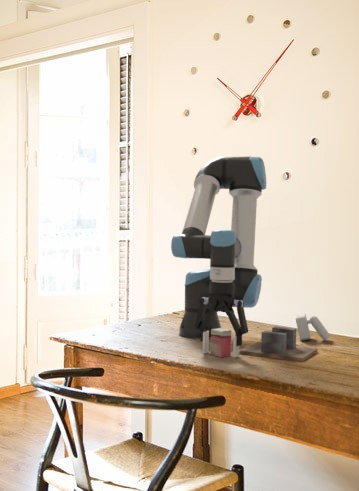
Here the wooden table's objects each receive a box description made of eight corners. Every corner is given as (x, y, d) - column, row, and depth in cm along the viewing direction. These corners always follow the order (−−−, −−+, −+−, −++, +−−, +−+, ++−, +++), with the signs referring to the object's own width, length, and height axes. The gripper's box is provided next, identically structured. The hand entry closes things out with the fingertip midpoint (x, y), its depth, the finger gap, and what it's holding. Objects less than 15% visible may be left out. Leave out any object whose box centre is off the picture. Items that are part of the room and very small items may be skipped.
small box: (209, 354, 194) (210, 328, 194) (220, 352, 197) (220, 327, 197) (220, 357, 190) (221, 331, 190) (231, 355, 193) (232, 330, 193)
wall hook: (331, 341, 216) (325, 312, 216) (301, 346, 218) (295, 318, 218) (331, 337, 224) (325, 309, 224) (301, 342, 226) (295, 314, 226)
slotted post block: (239, 353, 196) (239, 331, 196) (257, 344, 210) (258, 323, 210) (302, 361, 187) (302, 337, 187) (317, 351, 201) (318, 329, 201)
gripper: (184, 279, 195) (182, 352, 196) (251, 284, 184) (249, 361, 185) (195, 277, 201) (193, 348, 202) (261, 282, 191) (259, 356, 192)
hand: (220, 354), depth 194 cm, fingers open, 9 cm apart
